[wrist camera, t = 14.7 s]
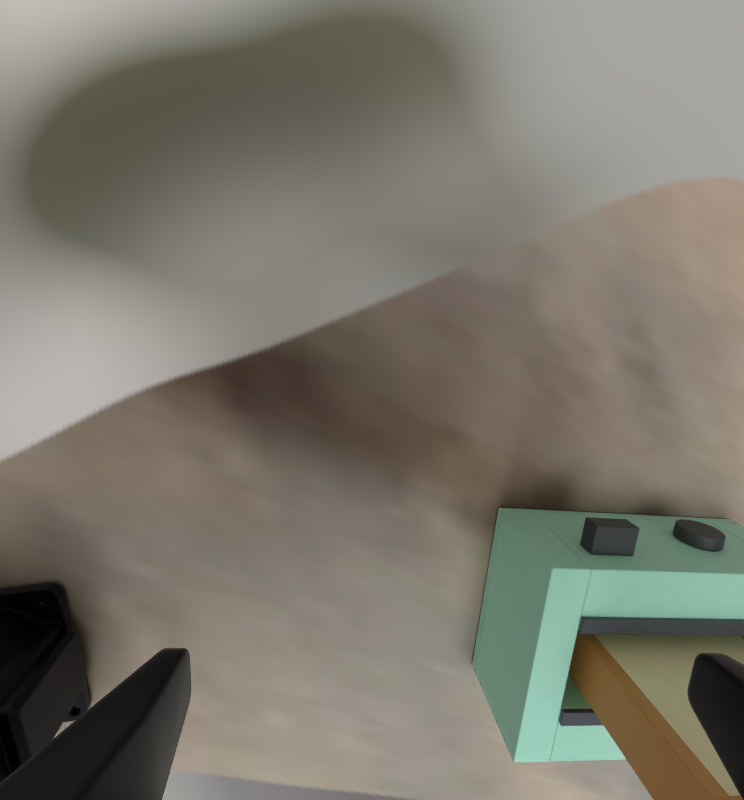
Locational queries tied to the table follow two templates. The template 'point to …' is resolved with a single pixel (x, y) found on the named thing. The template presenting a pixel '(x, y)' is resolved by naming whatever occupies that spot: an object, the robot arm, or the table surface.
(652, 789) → the toast
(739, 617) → the toaster
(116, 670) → the table surface
